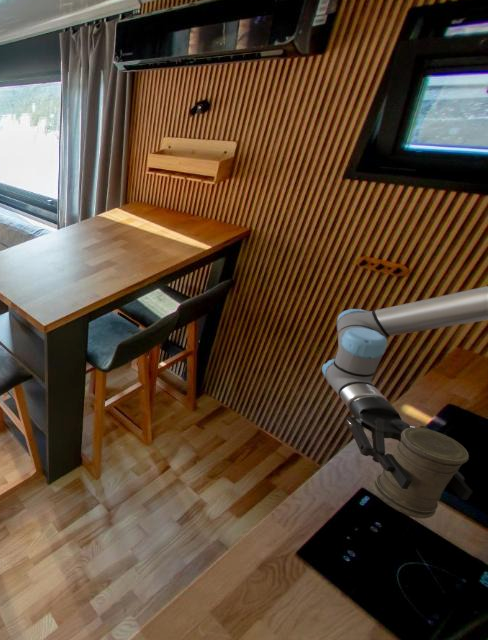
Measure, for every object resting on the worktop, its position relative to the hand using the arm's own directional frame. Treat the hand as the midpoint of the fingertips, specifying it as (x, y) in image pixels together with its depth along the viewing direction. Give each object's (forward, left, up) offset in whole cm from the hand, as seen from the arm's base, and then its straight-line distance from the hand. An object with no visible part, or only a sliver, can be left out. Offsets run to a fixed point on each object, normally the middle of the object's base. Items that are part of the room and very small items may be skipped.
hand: (436, 489), depth 72 cm
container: (+2, -5, -10) cm, 11 cm away
